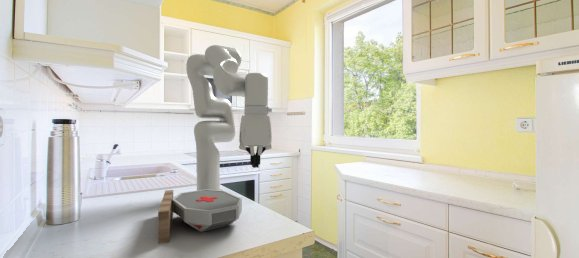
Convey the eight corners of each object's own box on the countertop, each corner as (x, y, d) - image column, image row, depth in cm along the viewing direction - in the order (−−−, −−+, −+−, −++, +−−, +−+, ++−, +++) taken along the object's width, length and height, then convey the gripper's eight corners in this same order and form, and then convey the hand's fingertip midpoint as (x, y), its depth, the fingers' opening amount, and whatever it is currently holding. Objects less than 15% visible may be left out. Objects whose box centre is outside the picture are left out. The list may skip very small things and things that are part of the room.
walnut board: (165, 214, 98) (165, 190, 98) (173, 213, 99) (173, 189, 99) (158, 243, 75) (158, 212, 74) (169, 241, 76) (168, 211, 75)
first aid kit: (166, 217, 95) (192, 243, 75) (166, 195, 95) (192, 214, 75) (217, 208, 105) (252, 228, 86) (217, 187, 105) (252, 202, 85)
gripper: (274, 112, 101) (273, 164, 102) (231, 111, 96) (230, 166, 97) (281, 112, 94) (280, 168, 95) (234, 110, 89) (234, 170, 90)
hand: (255, 166), depth 96 cm, fingers closed
